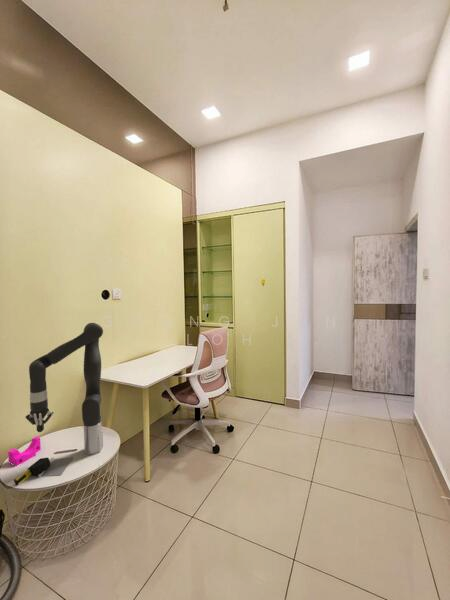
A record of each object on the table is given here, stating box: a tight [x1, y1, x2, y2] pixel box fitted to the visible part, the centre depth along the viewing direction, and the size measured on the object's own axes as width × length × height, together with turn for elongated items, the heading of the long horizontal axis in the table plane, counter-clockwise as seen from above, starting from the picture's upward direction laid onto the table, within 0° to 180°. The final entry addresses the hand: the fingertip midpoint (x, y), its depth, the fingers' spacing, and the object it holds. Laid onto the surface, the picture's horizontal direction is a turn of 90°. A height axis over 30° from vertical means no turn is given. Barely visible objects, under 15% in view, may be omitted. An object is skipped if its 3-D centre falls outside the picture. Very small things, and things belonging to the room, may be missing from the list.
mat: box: [37, 456, 73, 478], centre depth 141 cm, size 10×14×2 cm
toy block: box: [7, 436, 42, 467], centre depth 149 cm, size 15×6×8 cm, turn 162°
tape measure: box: [13, 457, 51, 486], centre depth 133 cm, size 15×4×8 cm
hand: (40, 431), depth 139 cm, fingers closed
